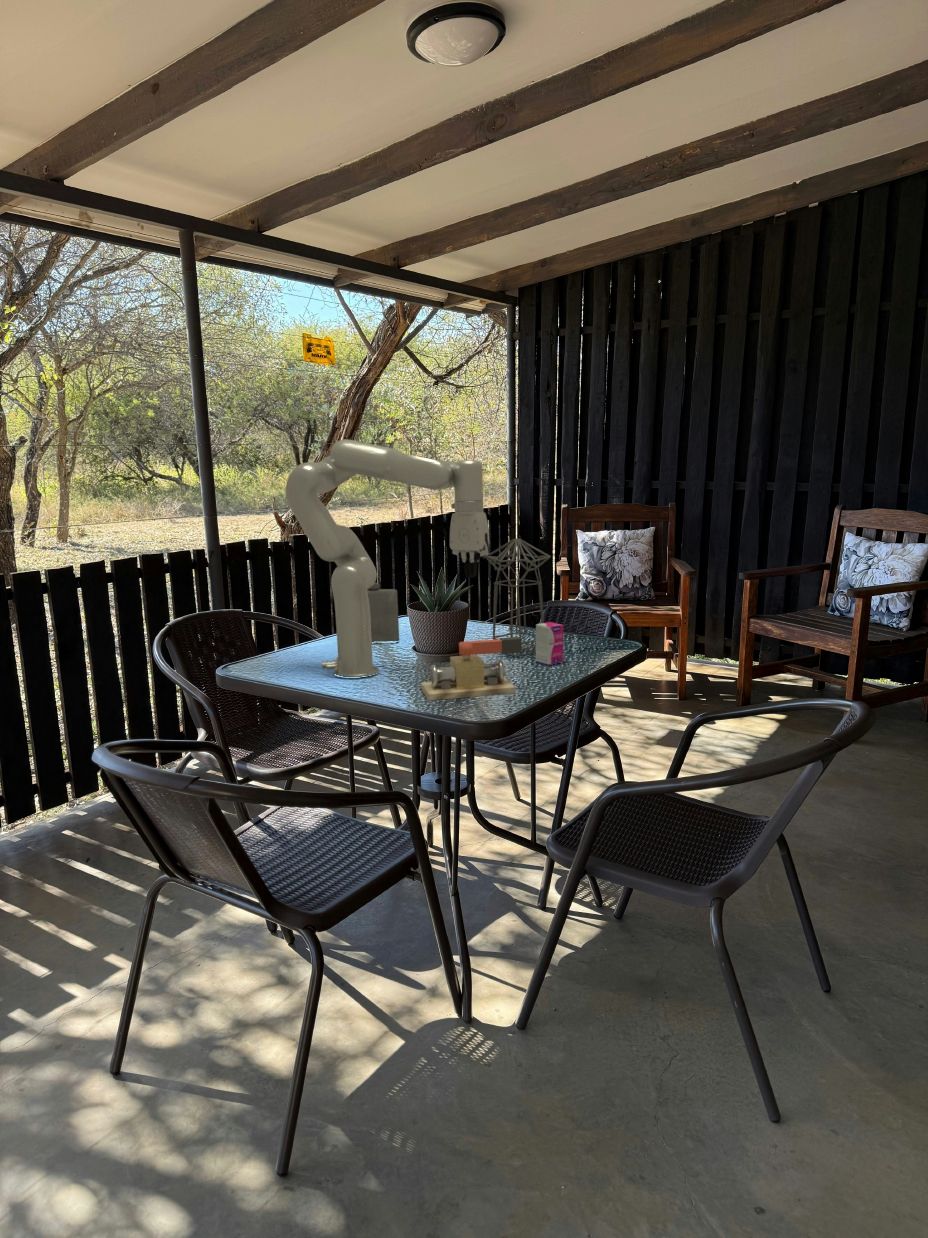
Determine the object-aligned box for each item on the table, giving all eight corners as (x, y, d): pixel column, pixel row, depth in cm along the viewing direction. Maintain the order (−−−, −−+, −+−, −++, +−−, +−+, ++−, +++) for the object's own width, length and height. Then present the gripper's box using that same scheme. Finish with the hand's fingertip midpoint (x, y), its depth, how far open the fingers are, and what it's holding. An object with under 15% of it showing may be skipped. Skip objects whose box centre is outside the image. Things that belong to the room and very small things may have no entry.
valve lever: (460, 659, 200) (460, 643, 200) (458, 656, 204) (457, 640, 203) (522, 655, 203) (521, 639, 202) (518, 652, 207) (518, 636, 206)
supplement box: (548, 666, 227) (548, 626, 225) (535, 663, 232) (534, 624, 230) (564, 663, 230) (563, 624, 228) (550, 659, 235) (549, 621, 233)
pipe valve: (435, 694, 198) (434, 664, 197) (429, 687, 206) (428, 658, 204) (505, 688, 202) (504, 659, 201) (497, 681, 209) (497, 653, 208)
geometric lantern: (521, 645, 255) (519, 535, 249) (555, 653, 243) (554, 537, 237) (482, 653, 246) (479, 539, 240) (515, 662, 234) (513, 541, 227)
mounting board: (428, 700, 196) (428, 694, 196) (420, 688, 208) (420, 682, 207) (515, 693, 200) (515, 687, 200) (503, 681, 212) (503, 676, 212)
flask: (399, 640, 270) (396, 581, 266) (399, 643, 264) (396, 583, 261) (354, 642, 268) (351, 583, 265) (353, 645, 263) (350, 585, 259)
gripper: (437, 508, 212) (440, 577, 216) (485, 508, 204) (487, 580, 208) (453, 507, 219) (455, 574, 222) (500, 507, 210) (502, 576, 214)
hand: (470, 576), depth 215 cm, fingers closed
